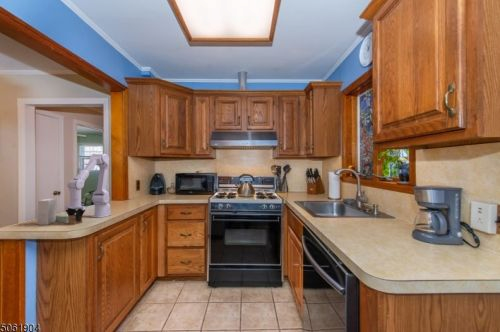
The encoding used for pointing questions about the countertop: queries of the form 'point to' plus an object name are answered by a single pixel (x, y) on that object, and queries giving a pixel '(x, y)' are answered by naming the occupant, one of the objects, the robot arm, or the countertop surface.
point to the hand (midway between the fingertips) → (75, 220)
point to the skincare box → (46, 211)
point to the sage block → (62, 218)
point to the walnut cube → (73, 219)
